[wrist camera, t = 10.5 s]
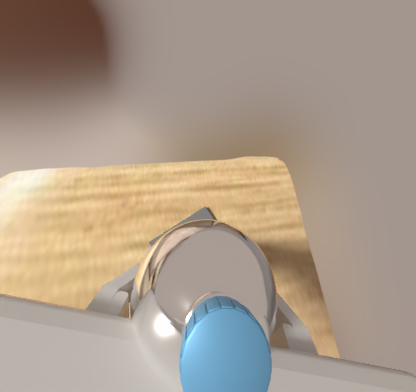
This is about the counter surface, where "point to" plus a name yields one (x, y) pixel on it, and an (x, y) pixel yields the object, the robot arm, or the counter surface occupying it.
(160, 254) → the water bottle
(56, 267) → the counter surface
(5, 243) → the counter surface
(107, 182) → the counter surface
